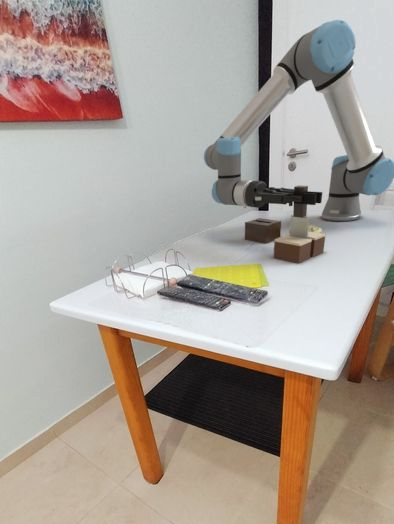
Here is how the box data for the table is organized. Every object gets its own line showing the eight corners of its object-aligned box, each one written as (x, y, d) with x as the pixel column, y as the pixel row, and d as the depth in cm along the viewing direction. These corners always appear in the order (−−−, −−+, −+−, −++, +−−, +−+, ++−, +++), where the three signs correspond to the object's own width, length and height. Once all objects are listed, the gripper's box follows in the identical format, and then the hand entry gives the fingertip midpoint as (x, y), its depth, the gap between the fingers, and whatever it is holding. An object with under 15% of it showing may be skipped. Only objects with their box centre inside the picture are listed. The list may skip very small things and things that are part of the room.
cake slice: (284, 253, 106) (286, 235, 103) (309, 258, 100) (311, 239, 97) (273, 257, 103) (274, 239, 100) (298, 263, 97) (300, 243, 94)
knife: (291, 247, 105) (293, 185, 95) (308, 251, 101) (312, 186, 91) (288, 249, 104) (289, 186, 94) (305, 253, 100) (308, 187, 90)
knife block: (259, 234, 128) (259, 218, 125) (280, 238, 122) (281, 220, 118) (244, 239, 124) (244, 222, 121) (266, 243, 117) (266, 225, 114)
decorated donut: (314, 243, 113) (316, 231, 111) (284, 240, 119) (285, 229, 117) (324, 235, 120) (326, 224, 118) (295, 233, 126) (296, 222, 124)
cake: (298, 248, 110) (300, 230, 107) (323, 252, 104) (325, 233, 101) (288, 252, 107) (289, 233, 104) (312, 257, 101) (315, 237, 98)
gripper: (266, 202, 112) (331, 208, 96) (235, 210, 104) (300, 218, 88) (267, 177, 108) (335, 179, 92) (234, 184, 100) (303, 187, 84)
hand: (318, 198), depth 90 cm, fingers closed on knife, 2 cm apart
